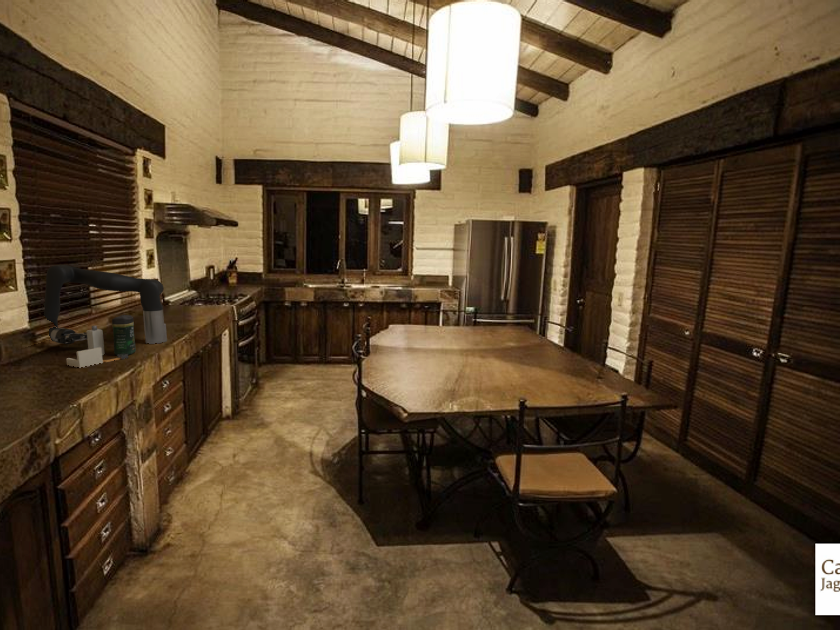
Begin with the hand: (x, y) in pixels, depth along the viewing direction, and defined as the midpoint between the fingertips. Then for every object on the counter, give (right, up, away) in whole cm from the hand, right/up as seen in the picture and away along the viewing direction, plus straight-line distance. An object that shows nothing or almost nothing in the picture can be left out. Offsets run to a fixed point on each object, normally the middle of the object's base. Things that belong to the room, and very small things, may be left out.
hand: (82, 339), depth 228 cm
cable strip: (+20, -9, -13) cm, 26 cm away
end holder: (+14, -10, -19) cm, 26 cm away
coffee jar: (+21, -7, 0) cm, 22 cm away
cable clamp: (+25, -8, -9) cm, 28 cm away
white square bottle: (+9, -7, -3) cm, 12 cm away
